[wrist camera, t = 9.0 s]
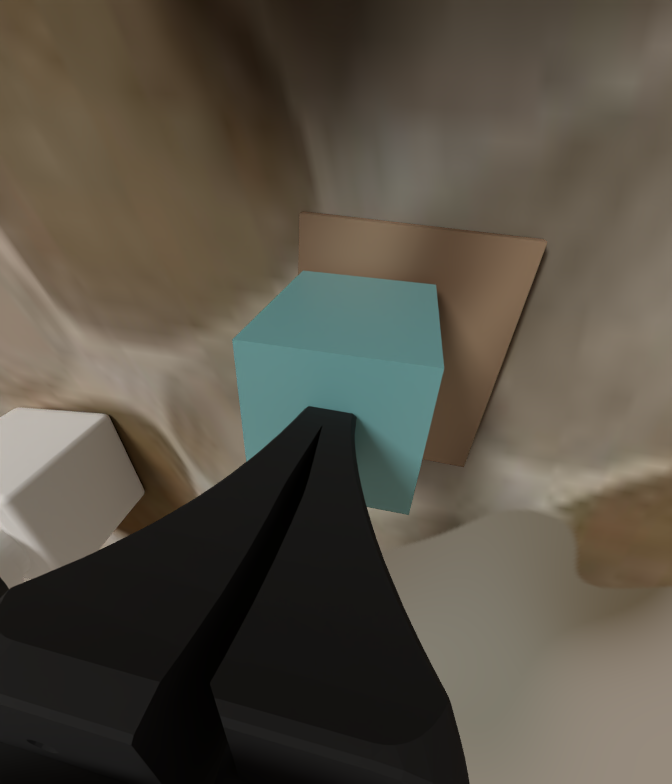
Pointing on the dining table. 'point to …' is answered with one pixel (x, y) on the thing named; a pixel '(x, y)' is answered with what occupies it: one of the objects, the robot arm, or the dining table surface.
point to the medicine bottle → (59, 489)
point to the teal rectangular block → (347, 371)
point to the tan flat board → (439, 301)
